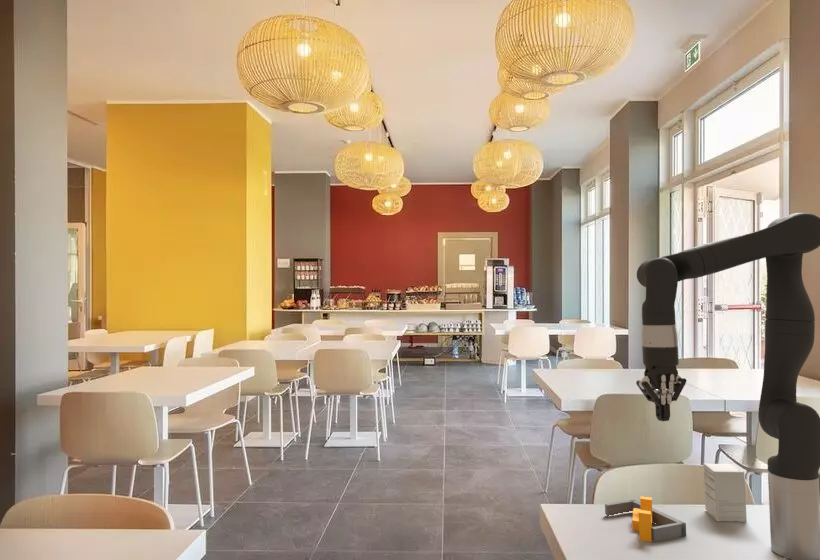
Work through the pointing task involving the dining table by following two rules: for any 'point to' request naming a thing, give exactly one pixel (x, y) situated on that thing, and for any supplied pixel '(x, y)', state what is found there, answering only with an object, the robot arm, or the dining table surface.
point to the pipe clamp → (643, 519)
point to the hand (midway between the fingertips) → (663, 420)
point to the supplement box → (725, 492)
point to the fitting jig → (667, 524)
